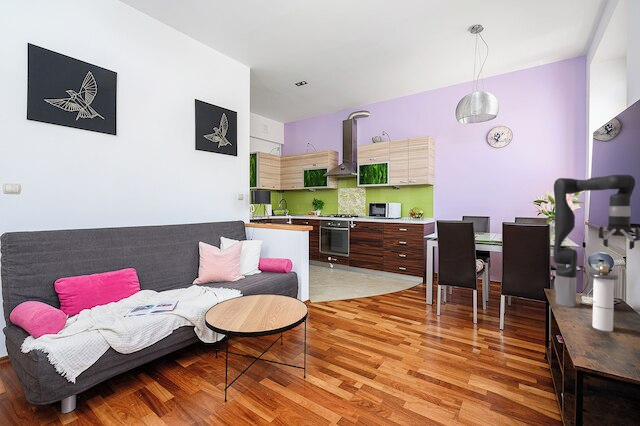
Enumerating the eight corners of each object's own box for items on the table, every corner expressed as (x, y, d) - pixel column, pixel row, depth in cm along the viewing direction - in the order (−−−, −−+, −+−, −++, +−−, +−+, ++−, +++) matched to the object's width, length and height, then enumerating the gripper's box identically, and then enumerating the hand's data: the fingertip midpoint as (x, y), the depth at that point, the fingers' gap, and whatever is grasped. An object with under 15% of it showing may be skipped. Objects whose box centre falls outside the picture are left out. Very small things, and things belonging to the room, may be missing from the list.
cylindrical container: (606, 325, 144) (607, 275, 143) (616, 332, 137) (618, 279, 136) (589, 324, 146) (590, 274, 145) (598, 330, 139) (599, 278, 138)
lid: (584, 273, 147) (584, 263, 146) (609, 275, 144) (609, 264, 144) (597, 278, 137) (597, 267, 137) (623, 280, 134) (624, 269, 134)
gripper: (597, 215, 148) (597, 247, 148) (639, 216, 136) (638, 250, 137) (601, 214, 152) (600, 245, 153) (641, 215, 141) (640, 249, 141)
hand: (618, 248), depth 145 cm, fingers open, 8 cm apart
